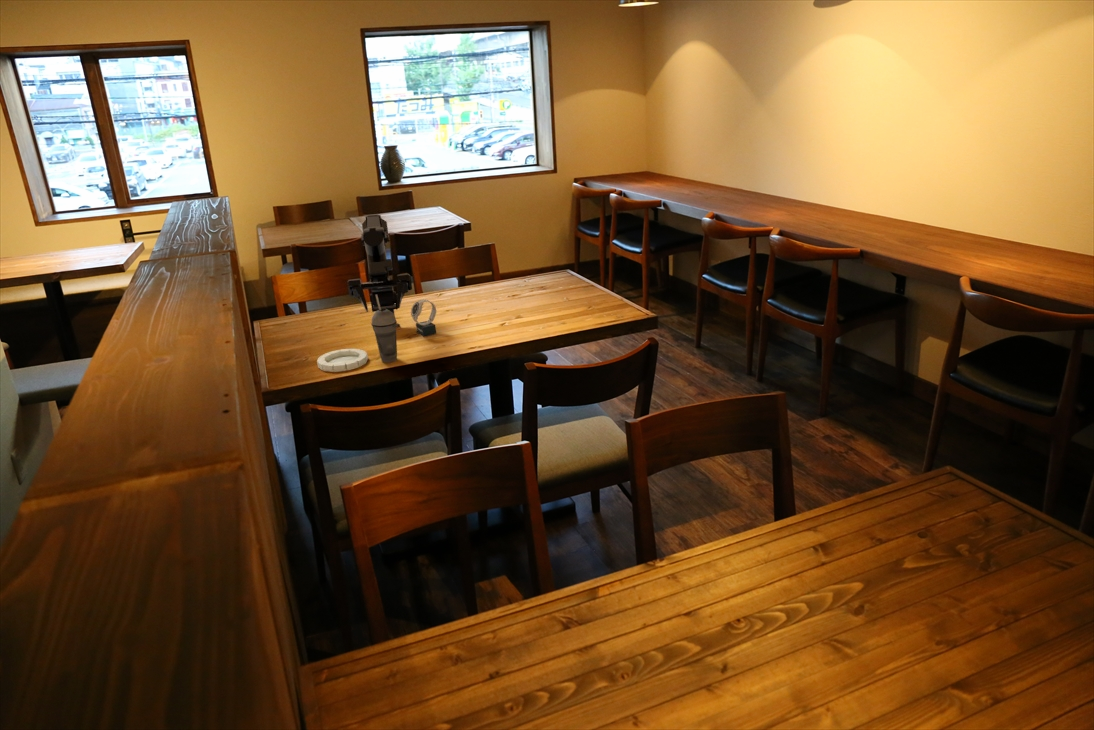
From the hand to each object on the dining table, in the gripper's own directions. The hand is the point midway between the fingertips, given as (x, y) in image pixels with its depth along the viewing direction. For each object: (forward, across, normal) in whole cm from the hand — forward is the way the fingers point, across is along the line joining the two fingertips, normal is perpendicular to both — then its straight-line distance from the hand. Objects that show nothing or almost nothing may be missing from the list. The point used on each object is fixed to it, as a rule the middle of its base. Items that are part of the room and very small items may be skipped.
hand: (382, 309), depth 219 cm
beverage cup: (+15, 0, +4) cm, 16 cm away
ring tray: (+13, -13, +6) cm, 20 cm away
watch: (0, +12, +19) cm, 23 cm away
